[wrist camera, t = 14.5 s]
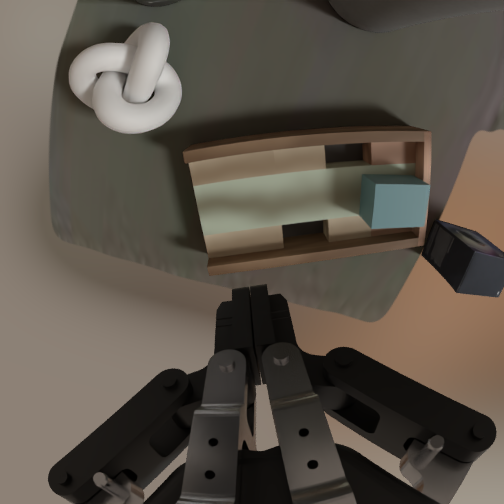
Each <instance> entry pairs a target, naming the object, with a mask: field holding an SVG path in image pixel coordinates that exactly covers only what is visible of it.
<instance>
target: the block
mask: <svg viewBox="0 0 504 504" xmlns="http://www.w3.org/2000/svg"><path fill="white" fill-rule="evenodd" d="M429 192H430V185H429V184H428V183H426V182H424V181H422V180H421V179H419V178H417V177H415V176H413V175H383V174H362V181H361V196H360V209H359V216H360V217H361V218H362V219H363V220H364V221H365V222H366V223H367V225H368V226H369V227H370V228H371V229H382V228H405V227H424V225H425V219H426V213H427V206H428V200H429Z"/></svg>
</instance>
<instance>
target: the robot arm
mask: <svg viewBox="0 0 504 504" xmlns="http://www.w3.org/2000/svg"><path fill="white" fill-rule="evenodd" d="M136 1H137V2H138V3H141V4H143V5H147V6H165V5H170V4H173V3H176V2H178V1H180V0H136ZM250 292H251V295H250ZM260 373H261V378H262V383H263V384H267V389H268V395H269V400H270V405H271V409H272V414H273V419H274V424H275V428H276V433H277V438H278V443H279V446H276V447H274V448H271V449H268V450H265V451H257V449H256V388H255V385H261V378H260ZM324 411H325V412H326V413H327V414H328V415H330V416H331V417H333V418H335V419H336V420H338V421H339V422H340V423H342V424H343V425H345V426H347V427H348V428H350V429H351V430H353V431H354V432H356V433H358V434H359V435H361V436H362V437H364V438H366V439H367V440H369V441H371V442H372V443H374V444H376V445H377V446H379V447H381V448H382V449H384V450H386V451H387V452H389V453H391V454H392V455H394V456H396V457H398V458H400V459H401V461H400V466H399V467H400V471H401V473H402V475H403V476H404V477H405V478H406V479H407V480H409V482H410V483H411V484H412V486H413V487H411V486H409V485H408V484H406V483H404V482H403V481H401V480H400V479H398V478H396V477H395V476H393V475H392V474H390V473H388V472H387V471H385V470H384V469H382V468H381V467H379V466H378V465H376V464H374V463H373V462H372V461H370V460H369V459H367V458H366V457H364V456H362V455H361V454H360V453H358V452H357V451H355V450H353V449H351V448H349V447H347V446H344V445H340V444H336V443H334V441H333V437H332V434H331V432H330V429H329V425H328V422H327V419H326V417H325V413H324ZM495 438H496V427H495V424H494V422H493V421H492V420H491V419H490V418H489V417H488V416H486V415H484V414H481V413H479V412H477V411H475V410H473V409H471V408H468V407H467V406H465V405H463V404H460V403H458V402H456V401H454V400H452V399H450V398H448V397H446V396H444V395H442V394H440V393H438V392H436V391H434V390H432V389H429V388H428V387H426V386H424V385H422V384H420V383H418V382H416V381H414V380H412V379H410V378H408V377H406V376H404V375H402V374H400V373H398V372H397V371H395V370H393V369H391V368H389V367H387V366H385V365H383V364H381V363H379V362H377V361H375V360H373V359H372V358H370V357H368V356H366V355H364V354H362V353H360V352H359V351H357V350H355V349H353V348H349V347H338V348H335V349H333V350H331V351H330V352H329V353H327V354H326V356H319V355H311V354H308V353H306V352H304V351H302V350H301V349H300V348H299V347H298V345H297V343H296V338H295V334H294V330H293V325H292V321H291V317H290V312H289V307H288V303H287V300H286V299H285V298H284V297H283V296H282V295H281V294H275V295H268V290H267V284H263V285H257V286H250V290H249V287H243V288H236V289H232V301H227V302H222V303H221V304H220V306H219V307H218V309H217V314H216V330H215V350H214V355H213V356H212V357H211V358H210V360H209V362H208V365H207V366H206V367H205V368H203V369H201V370H199V371H196V372H193V373H191V374H188V375H187V374H186V373H185V372H184V371H182V370H180V369H167V370H164V371H162V372H161V373H160V374H158V375H157V376H156V377H155V378H153V379H152V380H151V381H150V382H149V383H148V384H147V385H146V386H145V387H143V388H142V389H141V390H140V391H139V392H138V393H137V394H136V395H135V396H133V397H132V398H131V399H130V400H129V401H128V402H127V403H126V404H124V405H123V406H122V407H121V408H120V409H119V410H118V411H117V412H115V413H114V414H113V415H112V416H111V417H110V418H109V419H107V421H105V422H104V423H103V424H102V425H101V426H99V427H98V428H97V429H96V430H95V431H94V432H93V433H91V434H90V435H89V436H88V437H87V438H86V439H84V440H83V441H82V442H81V443H80V444H79V445H78V446H76V447H75V448H74V449H73V450H72V451H71V452H69V453H68V454H67V455H66V456H65V457H63V458H62V459H61V460H60V461H59V462H57V463H56V464H55V465H54V466H53V467H52V468H51V470H50V472H49V476H48V482H49V485H50V488H51V489H52V490H53V491H54V492H55V493H56V494H58V495H60V496H61V497H63V498H65V499H67V500H68V501H69V502H71V503H72V504H449V503H450V501H451V500H452V498H453V497H454V495H455V493H456V491H457V490H458V488H459V487H460V485H461V483H462V482H463V480H464V478H465V476H466V474H467V473H468V471H469V469H470V467H471V465H472V463H473V462H474V461H475V460H476V459H478V458H479V457H480V456H481V455H482V454H483V453H484V452H485V451H486V450H487V449H488V448H489V447H490V446H491V445H492V444H493V442H494V440H495ZM188 445H189V446H188ZM187 446H188V452H187V458H186V463H184V464H182V465H181V466H179V467H178V468H177V469H176V470H175V471H174V472H173V473H172V474H171V475H170V476H169V477H168V478H167V479H166V480H165V481H164V482H163V483H162V484H161V485H160V487H158V488H157V490H156V491H155V492H154V493H153V494H152V495H151V496H150V497H149V498H148V499H147V500H146V501H145V502H144V492H143V489H144V488H145V487H147V486H148V485H149V484H150V483H151V482H152V481H153V480H154V479H155V478H156V477H157V476H158V475H159V474H160V473H161V472H162V471H163V470H164V469H165V468H166V467H167V466H168V465H169V464H170V463H171V462H172V461H173V460H174V459H175V458H176V457H177V456H178V455H179V454H180V453H181V452H182V451H183V450H184V449H185V448H186V447H187Z"/></svg>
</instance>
